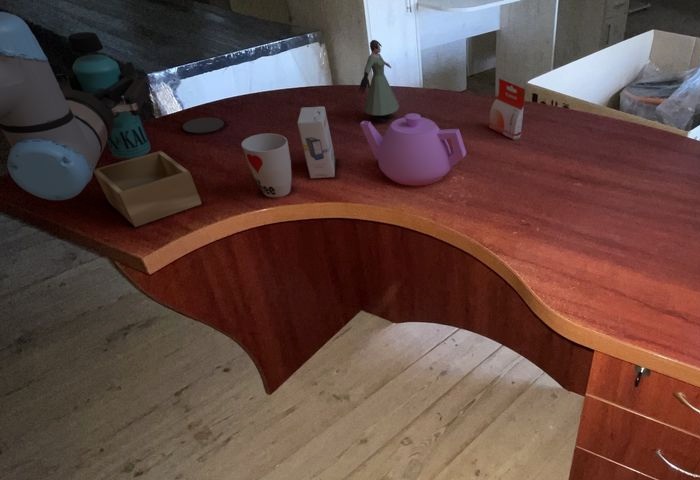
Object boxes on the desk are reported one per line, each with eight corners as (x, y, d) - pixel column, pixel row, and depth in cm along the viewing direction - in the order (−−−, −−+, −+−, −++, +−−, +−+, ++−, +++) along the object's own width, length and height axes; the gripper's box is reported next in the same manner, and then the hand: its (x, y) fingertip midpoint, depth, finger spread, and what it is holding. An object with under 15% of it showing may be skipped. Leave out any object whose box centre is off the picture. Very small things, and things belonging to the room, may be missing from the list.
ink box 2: (513, 141, 130) (517, 91, 122) (488, 128, 135) (490, 80, 127) (522, 138, 131) (526, 89, 124) (497, 125, 136) (499, 77, 128)
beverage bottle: (114, 154, 97) (56, 29, 83) (155, 148, 99) (105, 26, 85) (114, 169, 93) (53, 41, 79) (157, 163, 95) (105, 37, 81)
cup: (249, 188, 107) (234, 139, 100) (288, 177, 111) (276, 130, 104) (265, 205, 103) (251, 155, 96) (305, 193, 107) (294, 144, 100)
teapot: (472, 162, 121) (473, 107, 112) (457, 195, 109) (457, 137, 101) (378, 150, 123) (372, 96, 114) (354, 182, 111) (345, 123, 103)
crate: (108, 202, 101) (92, 169, 97) (173, 181, 108) (160, 150, 103) (135, 227, 96) (119, 194, 91) (202, 204, 102) (190, 172, 98)
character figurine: (382, 134, 129) (373, 53, 116) (351, 129, 130) (339, 47, 118) (409, 111, 140) (404, 34, 128) (380, 106, 141) (372, 30, 129)
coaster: (176, 125, 127) (175, 123, 127) (213, 116, 132) (212, 114, 132) (194, 137, 123) (193, 135, 123) (231, 127, 128) (230, 125, 128)
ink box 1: (334, 178, 112) (324, 121, 104) (309, 179, 111) (296, 122, 103) (336, 160, 118) (326, 105, 110) (311, 160, 117) (300, 105, 109)
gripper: (9, 158, 75) (53, 98, 90) (163, 146, 80) (180, 91, 95) (-25, 102, 70) (28, 49, 85) (142, 94, 74) (164, 45, 90)
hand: (108, 71), depth 90 cm, fingers closed on beverage bottle, 6 cm apart
